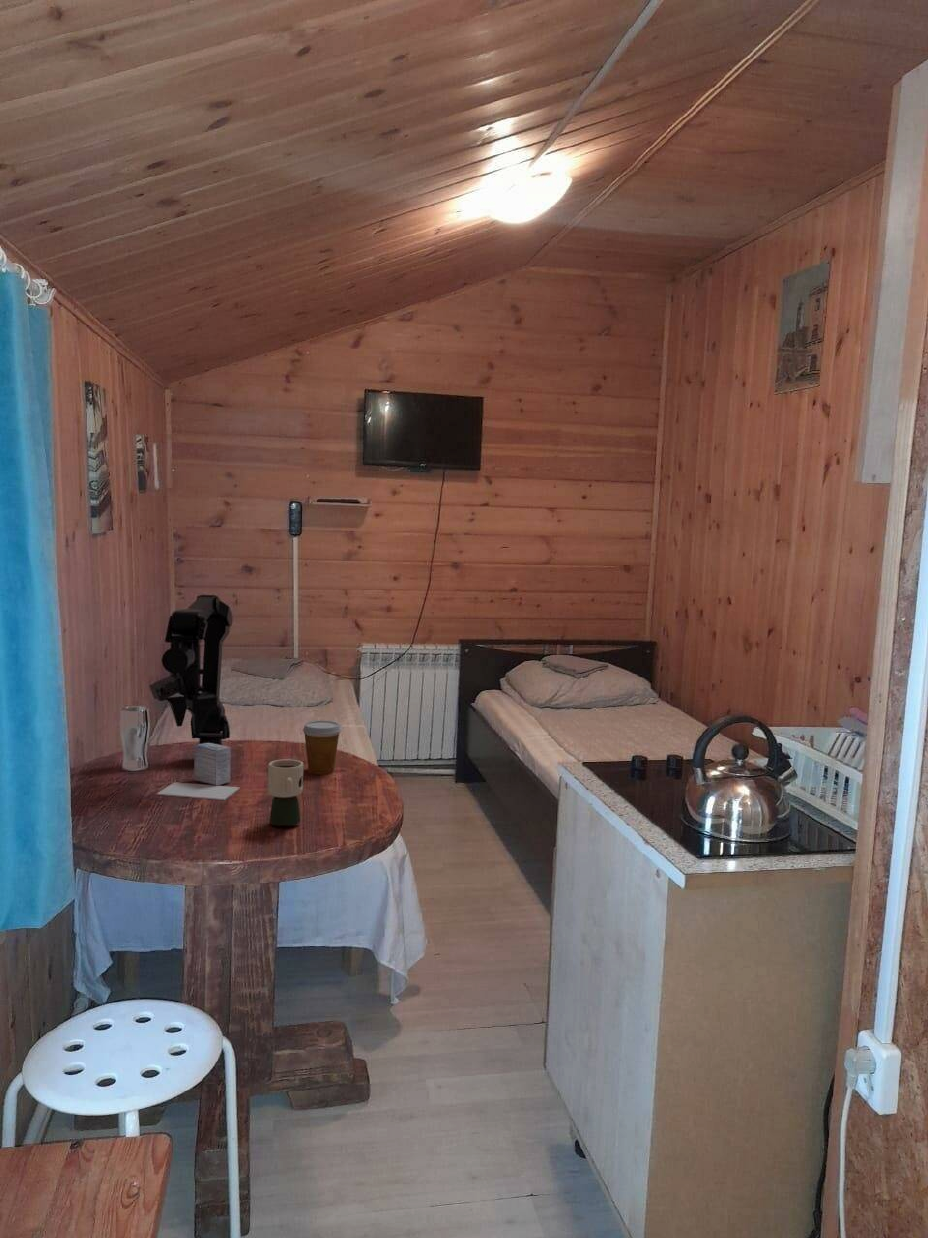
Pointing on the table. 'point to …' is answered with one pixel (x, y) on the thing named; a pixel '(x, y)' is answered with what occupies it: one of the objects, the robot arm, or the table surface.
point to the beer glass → (134, 736)
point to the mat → (198, 791)
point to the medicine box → (212, 763)
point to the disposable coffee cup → (321, 745)
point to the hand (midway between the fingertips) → (188, 730)
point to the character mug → (285, 791)
